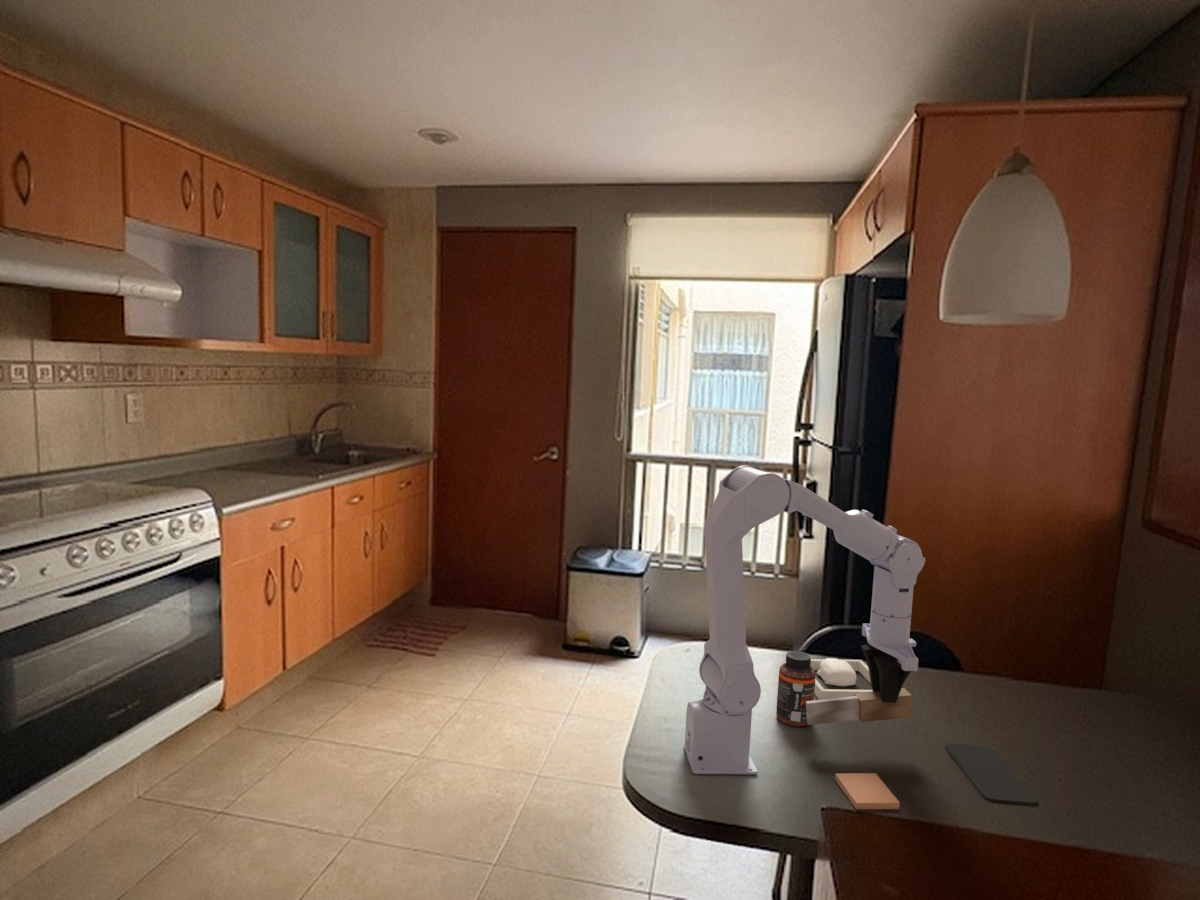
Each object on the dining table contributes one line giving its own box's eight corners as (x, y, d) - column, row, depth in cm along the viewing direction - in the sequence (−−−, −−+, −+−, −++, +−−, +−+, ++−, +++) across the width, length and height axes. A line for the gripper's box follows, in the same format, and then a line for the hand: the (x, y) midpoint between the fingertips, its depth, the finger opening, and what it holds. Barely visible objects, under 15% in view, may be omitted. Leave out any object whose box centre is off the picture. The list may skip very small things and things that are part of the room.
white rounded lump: (812, 671, 139) (813, 652, 139) (846, 672, 139) (847, 653, 139) (825, 688, 131) (826, 669, 131) (861, 689, 131) (862, 670, 131)
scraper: (810, 727, 107) (809, 706, 106) (805, 720, 109) (803, 698, 109) (912, 716, 107) (911, 695, 107) (904, 709, 110) (903, 687, 109)
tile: (834, 782, 100) (855, 812, 93) (835, 773, 100) (856, 802, 93) (874, 782, 101) (898, 812, 94) (875, 773, 100) (899, 802, 93)
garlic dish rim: (821, 701, 125) (821, 691, 125) (794, 668, 139) (794, 658, 139) (894, 702, 126) (895, 692, 125) (860, 669, 140) (861, 659, 140)
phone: (985, 798, 96) (942, 742, 111) (984, 804, 96) (942, 747, 111) (1041, 803, 95) (991, 746, 110) (1041, 809, 95) (990, 751, 110)
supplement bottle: (804, 732, 114) (809, 665, 112) (770, 720, 117) (774, 655, 116) (817, 718, 118) (821, 654, 117) (784, 708, 122) (788, 645, 121)
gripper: (941, 629, 100) (933, 719, 101) (894, 597, 114) (887, 677, 115) (893, 628, 99) (886, 719, 101) (852, 597, 114) (846, 676, 115)
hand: (884, 697), depth 108 cm, fingers closed on scraper, 2 cm apart
